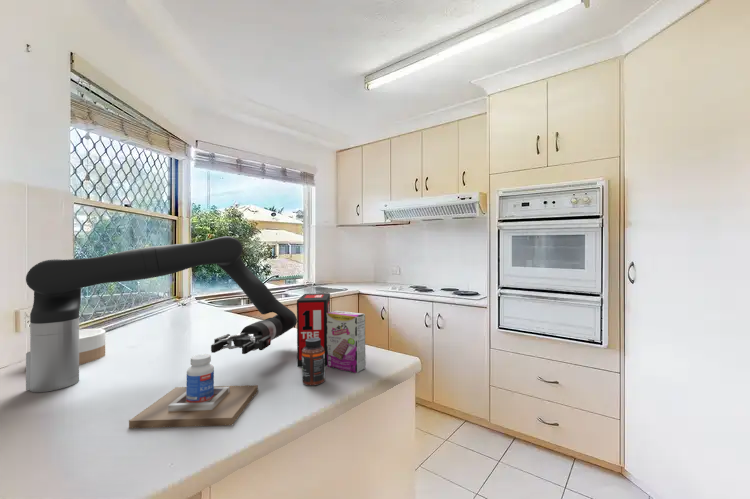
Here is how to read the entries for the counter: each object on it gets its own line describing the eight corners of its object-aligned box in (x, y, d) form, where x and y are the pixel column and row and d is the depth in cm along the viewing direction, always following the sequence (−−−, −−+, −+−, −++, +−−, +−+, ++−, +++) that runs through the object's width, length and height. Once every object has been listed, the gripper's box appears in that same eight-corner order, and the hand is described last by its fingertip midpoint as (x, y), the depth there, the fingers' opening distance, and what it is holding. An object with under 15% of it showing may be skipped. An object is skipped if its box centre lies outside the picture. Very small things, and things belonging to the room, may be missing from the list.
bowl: (97, 349, 119) (97, 326, 119) (112, 357, 109) (112, 332, 109) (28, 362, 105) (29, 336, 105) (39, 373, 95) (39, 344, 95)
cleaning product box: (327, 365, 98) (326, 299, 99) (297, 366, 98) (296, 300, 98) (330, 349, 115) (329, 293, 115) (305, 350, 114) (304, 293, 115)
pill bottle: (202, 407, 69) (201, 361, 69) (180, 405, 70) (180, 359, 70) (219, 396, 74) (219, 353, 75) (199, 394, 76) (198, 352, 76)
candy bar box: (325, 367, 97) (325, 312, 97) (336, 362, 101) (335, 310, 101) (356, 374, 91) (356, 315, 91) (366, 368, 95) (365, 313, 96)
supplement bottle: (329, 379, 87) (329, 337, 88) (316, 388, 82) (316, 343, 82) (311, 376, 90) (310, 335, 90) (297, 384, 85) (297, 340, 85)
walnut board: (128, 428, 64) (128, 414, 64) (175, 393, 80) (175, 382, 80) (232, 425, 64) (232, 411, 65) (258, 391, 80) (257, 380, 81)
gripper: (237, 321, 100) (202, 334, 84) (281, 322, 98) (253, 335, 82) (237, 345, 100) (202, 363, 84) (281, 347, 98) (253, 365, 82)
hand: (227, 349), depth 83 cm, fingers open, 8 cm apart
